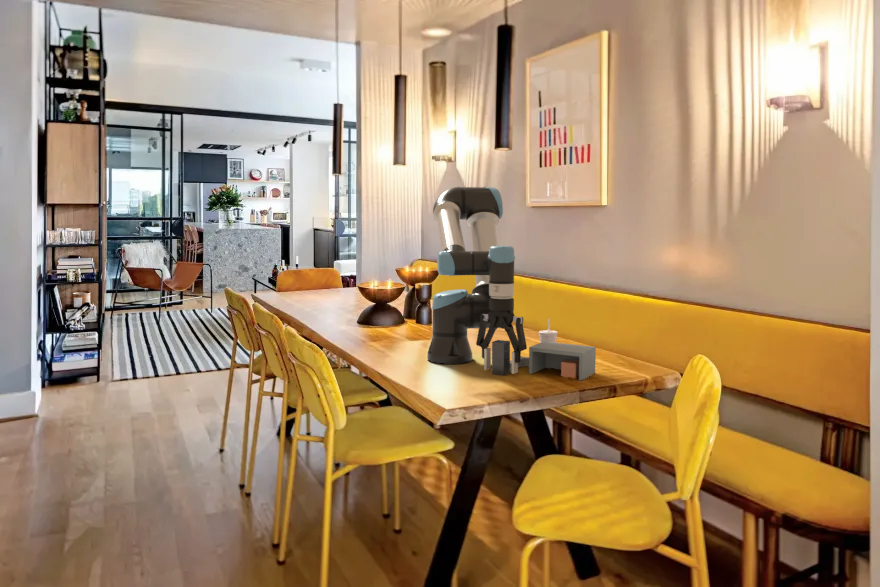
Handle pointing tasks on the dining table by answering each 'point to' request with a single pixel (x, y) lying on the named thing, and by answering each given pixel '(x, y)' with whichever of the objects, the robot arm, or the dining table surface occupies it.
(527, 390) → the dining table surface
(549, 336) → the smoothie
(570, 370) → the cube
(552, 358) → the cubby
